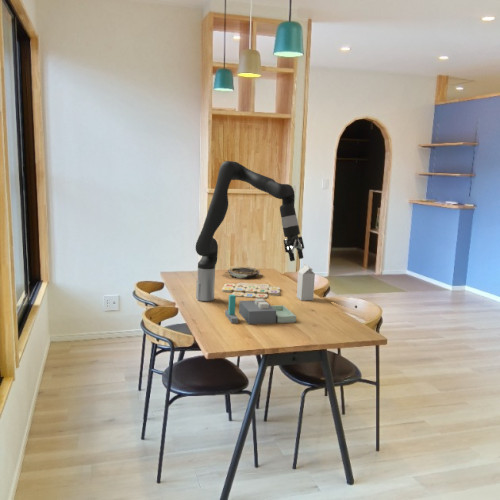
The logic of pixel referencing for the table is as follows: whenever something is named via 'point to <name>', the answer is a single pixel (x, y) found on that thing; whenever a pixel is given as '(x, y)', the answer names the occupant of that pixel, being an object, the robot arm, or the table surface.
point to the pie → (243, 272)
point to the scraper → (231, 310)
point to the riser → (256, 313)
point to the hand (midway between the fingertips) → (296, 259)
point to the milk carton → (305, 283)
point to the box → (284, 314)
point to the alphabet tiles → (251, 290)
